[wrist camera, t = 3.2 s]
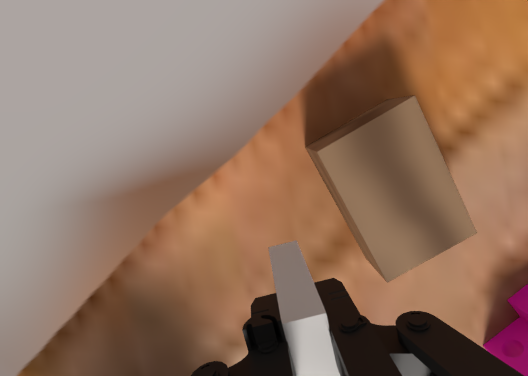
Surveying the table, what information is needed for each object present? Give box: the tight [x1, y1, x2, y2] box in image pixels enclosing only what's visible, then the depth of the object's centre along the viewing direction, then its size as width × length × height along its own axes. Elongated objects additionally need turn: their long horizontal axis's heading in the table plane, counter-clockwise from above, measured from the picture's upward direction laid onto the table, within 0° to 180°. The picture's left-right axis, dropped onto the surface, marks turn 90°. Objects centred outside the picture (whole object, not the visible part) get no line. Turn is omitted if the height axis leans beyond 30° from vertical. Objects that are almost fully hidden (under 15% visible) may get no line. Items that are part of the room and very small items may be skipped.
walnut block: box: [305, 96, 477, 282], centre depth 28 cm, size 8×12×5 cm, turn 30°
